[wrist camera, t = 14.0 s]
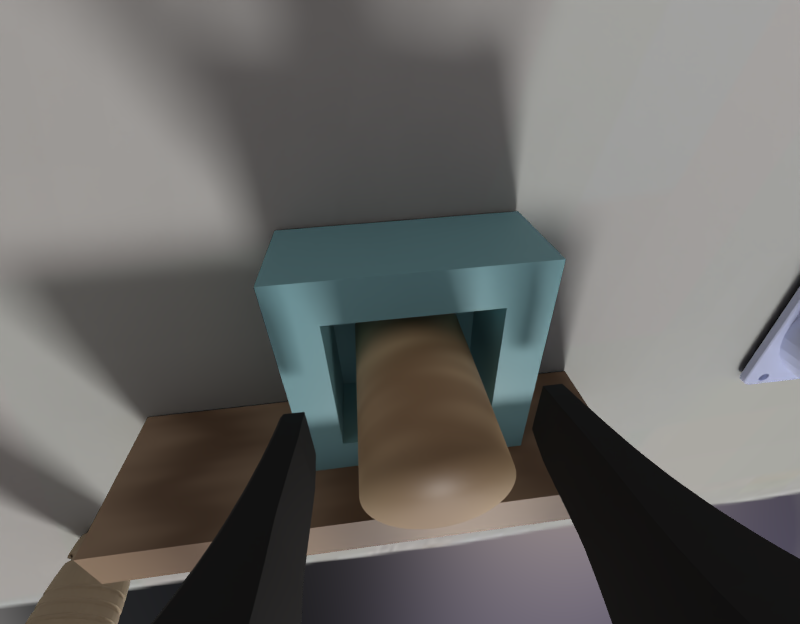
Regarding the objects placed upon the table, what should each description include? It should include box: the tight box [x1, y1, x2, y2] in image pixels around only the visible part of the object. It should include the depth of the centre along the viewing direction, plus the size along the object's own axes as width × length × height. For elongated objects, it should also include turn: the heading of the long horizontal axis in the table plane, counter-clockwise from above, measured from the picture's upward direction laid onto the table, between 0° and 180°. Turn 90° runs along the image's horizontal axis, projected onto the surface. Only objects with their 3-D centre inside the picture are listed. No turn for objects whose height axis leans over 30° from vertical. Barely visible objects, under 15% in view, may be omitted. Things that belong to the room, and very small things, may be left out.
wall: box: [73, 371, 589, 584], centre depth 17 cm, size 20×2×6 cm, turn 91°
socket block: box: [254, 211, 566, 471], centre depth 14 cm, size 9×9×4 cm
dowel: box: [355, 313, 516, 529], centre depth 13 cm, size 4×4×7 cm
